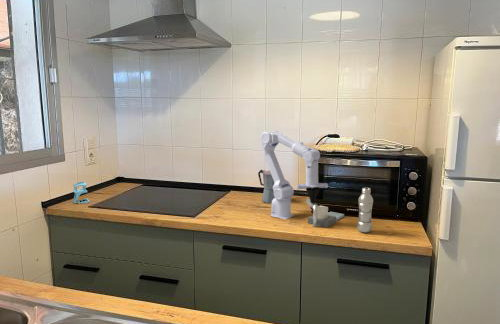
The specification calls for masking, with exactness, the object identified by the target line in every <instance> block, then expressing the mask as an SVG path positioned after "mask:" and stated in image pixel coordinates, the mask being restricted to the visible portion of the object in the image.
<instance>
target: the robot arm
mask: <svg viewBox="0 0 500 324" xmlns="http://www.w3.org/2000/svg"><path fill="white" fill-rule="evenodd" d="M259 142H260V144H261V148H262V150H261V151H262V154H263V156H264V159H265V162H266V164H267V167H268V169H269V170H268V171H270V172H271V175H272V177H273V180H274V186H273V191H274V197H275V198H274V199H273V200H272V203H270V204H271V212H270V213H271V214H270V217H272V218H273V217H274V218H277V219H278V218H279V219H282V220H283V219H284V220H288V219H290V218H292V217H294V216H295V214H293V213H291V211H292V210H291V209H292V208H291V207H292V197H293V196H294V192H295V191H294V188H293V186H292V185H291V183H290V181H288V180H287V179H285V177H284V173H283V171H282V168H281V166H280V163H279V161H278V158H277V155H276V153H275V149H276V147H277V146H278V145H279V144H282V145H284V146H286V147H287V148H289V149H291V150H292V152H293V153H294V154H295V155H297V156H299V157H300V158H302V160H303V161H304V165H305V183H301V184H300V183H298V184H296V189H297V190H306V192H307V195H308V198H309V199H310V202H311V203H313V202H314V203H315V204H316V200H317V196H318V195H319V192H320V189H323V188H325V189H327V188H328V187H329V186H328V185H329V184H328V183H327V182H319V160H320V158H321V153H320V151H319V150H318V149H317V148H311V147H310V146H307V145H305V144H304V142H303V141H298V142H297V141H296V142H295V141H294V140H293V139H291V138H289V137H288V136H286V135H284V134H283V132H280V131H279V130H273V131H263V132H262V133H261V136H260V138H259Z"/></svg>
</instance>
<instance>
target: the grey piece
mask: <svg viewBox="0 0 500 324" xmlns="http://www.w3.org/2000/svg"><path fill="white" fill-rule="evenodd" d="M305 203H306V205H308V206H309V207H311V209H312V211H313V212H312V213H313V214H312V215H313V225H312V228H318V226H317V218H318V207H319V205H318V204H317V203H316V202H315V203H314V202H313V203H311V202H310V198H309V197H307V198H305Z"/></svg>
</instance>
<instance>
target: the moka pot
mask: <svg viewBox="0 0 500 324" xmlns="http://www.w3.org/2000/svg"><path fill="white" fill-rule="evenodd" d="M261 174H262V177H261ZM257 175H258V179H259V182H260V186H263V187H264V189H263V193H262V199H261V201H262V202H263V203H265V204H272V200H273V199H274V198H275V197H274V191H273V186H274V180H273V177H272V175H271V172H270V170H263V169H260V170H259V172H258V173H257ZM262 178H263V182H262Z"/></svg>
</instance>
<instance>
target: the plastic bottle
mask: <svg viewBox="0 0 500 324" xmlns="http://www.w3.org/2000/svg"><path fill="white" fill-rule="evenodd" d="M371 192H372V191H371V187H362V188H361V194H360V196H359V197H358V219H357V223H356V227H357V228H356V229H357V231H359V232H361V233H370V232H371V231H372V229H373V224H372V209H373V204H374V198H373V196H372V195H371Z"/></svg>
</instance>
